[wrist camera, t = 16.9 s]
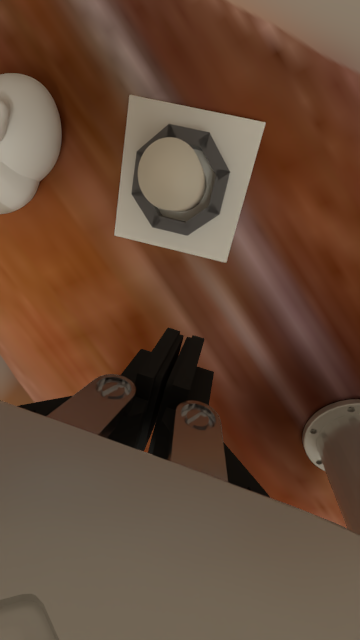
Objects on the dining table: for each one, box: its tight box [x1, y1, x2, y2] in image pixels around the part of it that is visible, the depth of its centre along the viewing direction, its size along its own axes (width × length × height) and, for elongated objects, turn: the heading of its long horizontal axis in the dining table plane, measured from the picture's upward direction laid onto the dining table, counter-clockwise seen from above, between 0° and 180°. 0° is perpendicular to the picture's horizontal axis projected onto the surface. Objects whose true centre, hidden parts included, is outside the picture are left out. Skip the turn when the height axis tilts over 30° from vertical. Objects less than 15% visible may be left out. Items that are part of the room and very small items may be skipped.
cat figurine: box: [0, 73, 62, 214], centre depth 26 cm, size 10×8×15 cm
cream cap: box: [138, 137, 207, 212], centre depth 24 cm, size 5×5×7 cm
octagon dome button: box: [114, 95, 266, 263], centre depth 27 cm, size 13×13×3 cm
